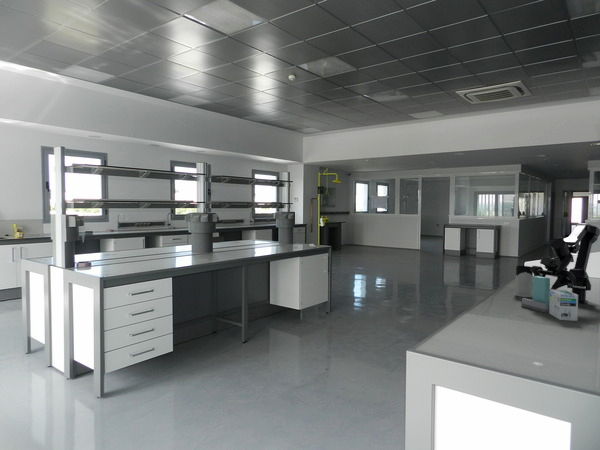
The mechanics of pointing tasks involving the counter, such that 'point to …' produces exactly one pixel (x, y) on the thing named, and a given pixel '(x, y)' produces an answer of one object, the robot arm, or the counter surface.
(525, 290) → the glass holder
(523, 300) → the floor track
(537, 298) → the teal rectangular block
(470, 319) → the counter surface
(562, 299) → the light bulb box
